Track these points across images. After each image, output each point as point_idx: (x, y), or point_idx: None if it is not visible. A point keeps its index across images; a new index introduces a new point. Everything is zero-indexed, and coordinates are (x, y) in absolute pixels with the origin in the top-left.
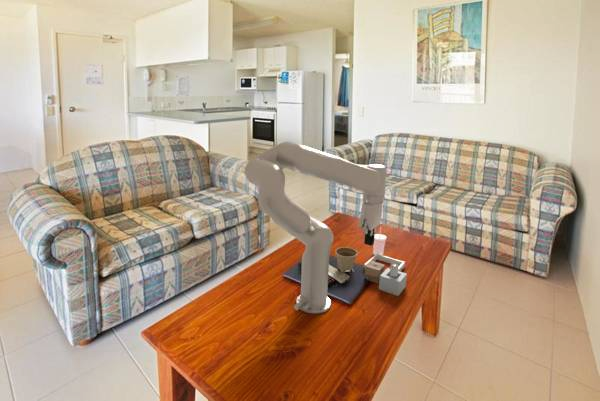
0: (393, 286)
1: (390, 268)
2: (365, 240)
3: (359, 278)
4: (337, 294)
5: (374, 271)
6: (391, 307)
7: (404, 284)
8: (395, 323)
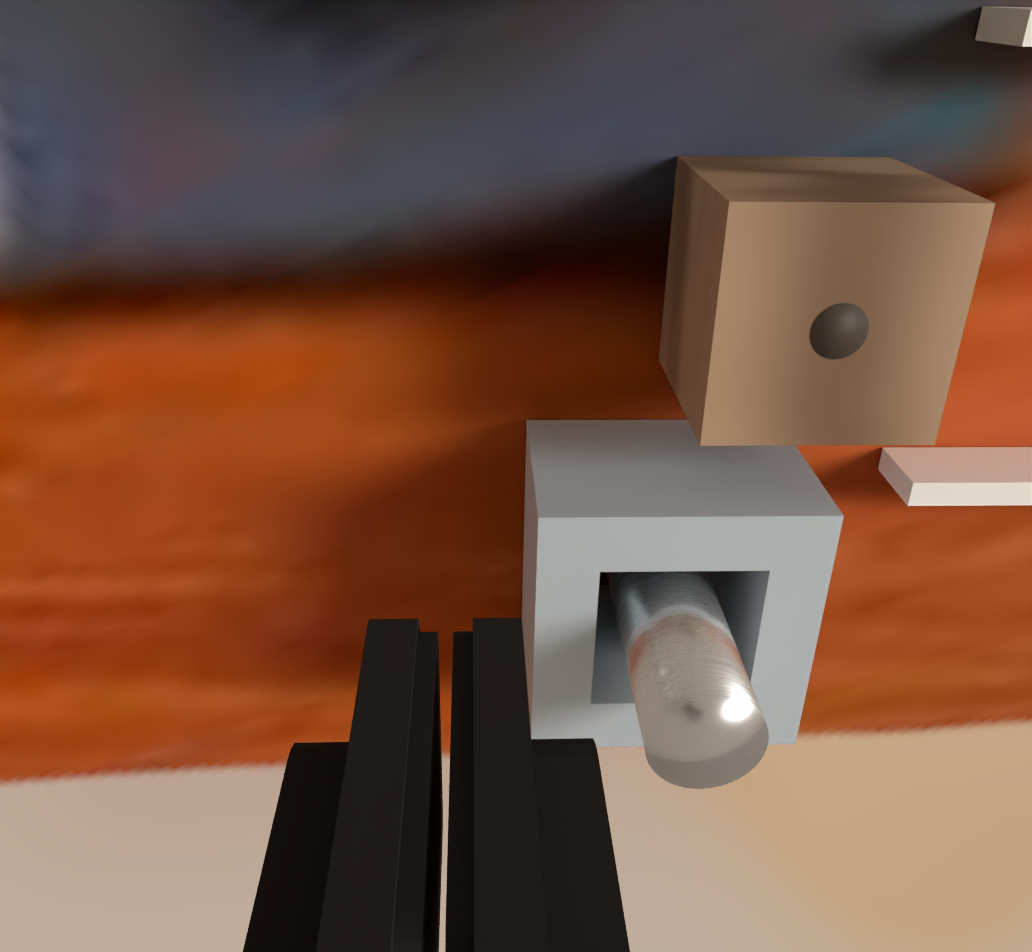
0: (527, 633)
1: (669, 668)
2: (359, 732)
3: (652, 86)
4: (17, 19)
5: (698, 358)
6: (274, 644)
7: None
8: (66, 744)
